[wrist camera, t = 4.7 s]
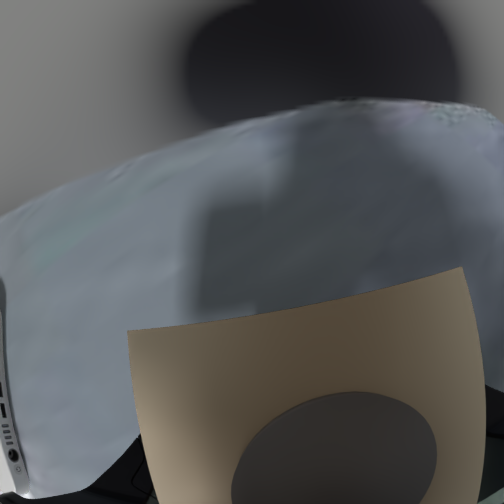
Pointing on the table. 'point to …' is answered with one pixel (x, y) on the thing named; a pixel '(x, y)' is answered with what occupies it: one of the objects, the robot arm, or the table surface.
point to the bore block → (319, 401)
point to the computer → (9, 441)
